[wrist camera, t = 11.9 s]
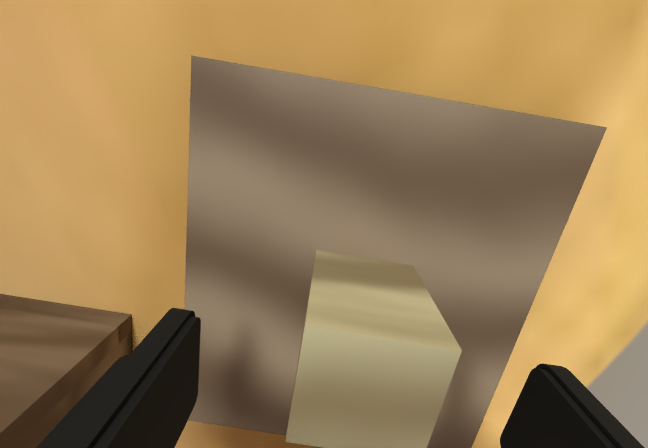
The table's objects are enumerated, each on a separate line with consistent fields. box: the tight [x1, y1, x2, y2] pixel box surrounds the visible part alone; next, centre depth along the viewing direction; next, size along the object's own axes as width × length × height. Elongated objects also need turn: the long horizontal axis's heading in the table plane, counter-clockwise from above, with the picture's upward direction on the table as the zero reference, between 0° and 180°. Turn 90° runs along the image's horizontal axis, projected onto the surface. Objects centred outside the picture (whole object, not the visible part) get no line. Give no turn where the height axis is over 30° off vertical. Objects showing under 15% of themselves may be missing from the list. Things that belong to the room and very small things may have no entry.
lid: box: [185, 56, 607, 448], centre depth 12 cm, size 17×15×7 cm
